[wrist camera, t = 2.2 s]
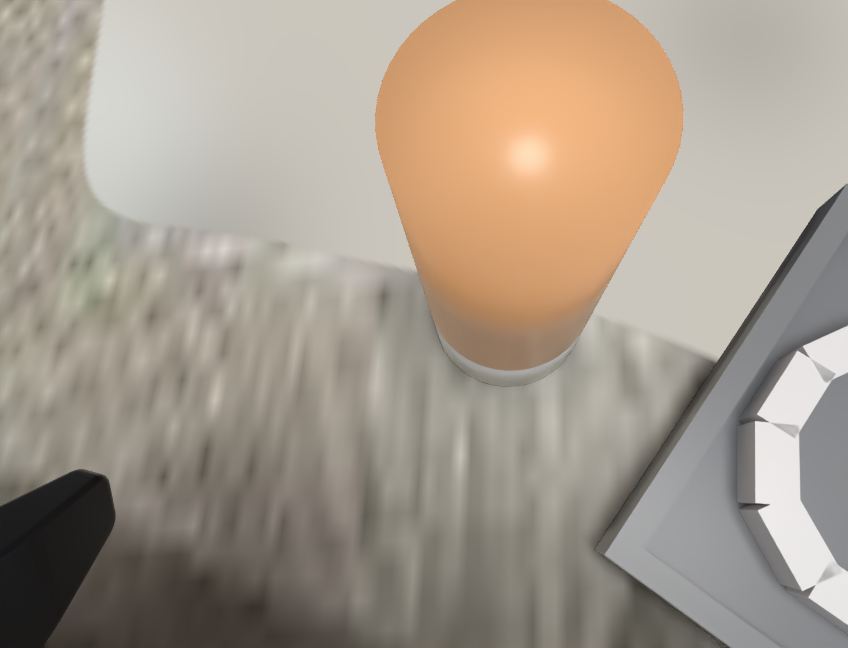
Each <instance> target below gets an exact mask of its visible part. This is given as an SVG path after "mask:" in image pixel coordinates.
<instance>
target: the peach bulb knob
mask: <svg viewBox="0 0 848 648" xmlns="http://www.w3.org/2000/svg"><path fill="white" fill-rule="evenodd" d="M375 117H376V118H375V125H376V126H375V131H376V138H377V145H378V150H379V153H380V156H381V160H382V163H383V166H384V169H385V173H386V176H387V179H388V182H389V185H390V188H391V191H392V194H393V197H394V200H395V203H396V206H397V209H398V213H399V216H400V218H401V222H402V225H403V228H404V231H405V234H406V237H407V240H408V243H409V246H410V249H411V253H412V255H413V259H414V262H415V265H416V268H417V271H418V274H419V277H420V280H421V283H422V286H423V289H424V293H425V296H426V299H427V302H428V305H429V308H430V311H431V314H432V317H433V320H434V323H435V326H436V329H437V333H438V336H439V339H440V341H441V344H442V346H443V348H444V350H445V351H446V353H447V355H448V356H449V358H450V359H451V360H452V361H453V362H454V364H455V365H457V366H458V367H459V368H460V369H461V370H462V371H463V372H465V373H466V374H468V375H469V376H471V377H473V378H475V379H477V380H479V381H482V382H484V383H487V384H492V385H496V386H506V387H507V386H520V385H526V384H529V383H532V382H535V381H537V380H540V379H542V378H544V377H545V376H547V375H549V374H550V373H552V372H553V371H554V370H555V369H557V368H558V367H559V366H560V365H561V364H562V363H563V362H564V361H565V359H566V358H567V356H568V355H569V354H570V352H571V350H572V349H573V347H574V345H575V343H576V341H577V340H578V338H579V336H580V334H581V332H582V331H583V329H584V327H585V325H586V323H587V322H588V320H589V318H590V316H591V314H592V313H593V311H594V308H595V307H596V305H597V303H598V302H599V300H600V298H601V296H602V294H603V293H604V291H605V289H606V287H607V285H608V284H609V281H610V280H611V278H612V276H613V275H614V273H615V271H616V269H617V267H618V266H619V264H620V262H621V260H622V258H623V257H624V254H625V253H626V251H627V249H628V247H629V245H630V244H631V242H632V240H633V238H634V237H635V235H636V233H637V231H638V229H639V228H640V226H641V224H642V222H643V220H644V218H645V217H646V215H647V213H648V211H649V210H650V208H651V206H652V204H653V202H654V201H655V199H656V197H657V195H658V193H659V192H660V190H661V188H662V186H663V184H664V183H665V181H666V179H667V177H668V175H669V173H670V171H671V169H672V167H673V165H674V162H675V159H676V156H677V153H678V150H679V147H680V142H681V136H682V131H683V104H682V96H681V90H680V87H679V83H678V80H677V76H676V74H675V71H674V69H673V67H672V65H671V62H670V60H669V58H668V57H667V55H666V53H665V52H664V50H663V49H662V47H661V46H660V44H659V42H658V41H657V40H656V39H655V38H654V36H653V35H652V34H651V33H650V32H649V31H648V29H647V28H645V27H644V26H643V25H642V24H641V23H640V22H639V21H638V20H637V19H636V18H634V17H633V16H632V15H630V14H629V13H627V12H626V11H625V10H623V9H622V8H620V7H619V6H617V5H615V4H614V3H612V2H610V1H608V0H456V1H454V2H452V3H450V4H449V5H447V6H445V7H444V8H442V9H440V10H438V11H437V12H436V13H434V14H433V15H432V16H431V17H429V18H428V19H427V20H425V21H424V22H423V23H422V24H421V25H420V26H419V27H418V28H417V29H416V30H414V31H413V32H412V33H411V34H410V36H409V37H408V38H407V39H406V41H405V42H404V43H403V44H402V45H401V47H400V48H399V49H398V51H397V53H396V54H395V56H394V58H393V59H392V61H391V62H390V64H389V67H388V69H387V71H386V73H385V76H384V78H383V80H382V84H381V87H380V91H379V94H378V99H377V107H376V114H375Z"/></svg>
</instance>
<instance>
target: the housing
mask: <svg viewBox="0 0 848 648" xmlns="http://www.w3.org/2000/svg"><path fill="white" fill-rule="evenodd" d="M594 550H595V551H597V552H598V553H599V554H601V555H602V556H604V557H605V558H606V559H608V560H609V561H610V562H612V563H613V564H614V565H616V566H617V567H619V568H620V569H621V570H623V571H624V572H625V573H627V574H628V575H629V576H631V577H632V578H634V579H635V580H636V581H638V582H639V583H640V584H642V585H643V586H644V587H646V588H647V589H649V590H650V591H651V592H653V593H654V594H655V595H657V596H658V597H660V598H661V599H662V600H664V601H665V602H666V603H668V604H669V605H670V606H672V607H673V608H675V609H676V610H677V611H679V612H680V613H681V614H683V615H684V616H685V617H687V618H688V619H690V620H691V621H692V622H694V623H695V624H696V625H698V626H699V627H700V628H702V629H703V630H705V631H706V632H707V633H709V634H710V635H711V636H713V637H714V638H715V639H717V640H718V641H720V642H721V643H722V644H724V645H725V646H726V647H728V648H848V184H846V185H845V186H844V187H842V188H841V189H840V190H839V191H838V192H837V193H836V194H834V195H833V196H832V197H831V198H830V199H829V200H828V201H826V202H825V204H823V205H822V206H821V207H820V208H819V209H818V210H817V211H816V212H815V214H814V216H813V217H812V219H811V220H810V222H809V223H808V225H807V226H806V228H805V229H804V231H803V232H802V234H801V235H800V237H799V238H798V240H797V241H796V243H795V244H794V246H793V247H792V249H791V251H790V252H789V254H788V255H787V257H786V258H785V260H784V261H783V263H782V264H781V266H780V267H779V269H778V270H777V272H776V273H775V275H774V277H773V278H772V280H771V281H770V283H769V284H768V286H767V287H766V289H765V290H764V292H763V293H762V295H761V296H760V298H759V299H758V301H757V302H756V304H755V305H754V307H753V308H752V310H751V311H750V313H749V315H748V316H747V318H746V319H745V321H744V322H743V324H742V325H741V327H740V328H739V330H738V331H737V333H736V334H735V336H734V337H733V339H732V341H731V342H730V343H729V345H728V347H727V348H726V350H725V351H724V353H723V354H722V356H721V357H720V359H719V360H718V362H717V363H716V365H715V366H714V368H713V369H712V371H711V372H710V374H709V375H708V377H707V379H706V380H705V382H704V383H703V385H702V386H701V388H700V389H699V391H698V392H697V394H696V395H695V397H694V398H693V400H692V401H691V403H690V404H689V406H688V407H687V409H686V411H685V412H684V414H683V415H682V417H681V418H680V420H679V421H678V423H677V424H676V426H675V427H674V429H673V430H672V432H671V433H670V435H669V436H668V438H667V439H666V441H665V443H664V444H663V446H662V447H661V449H660V450H659V452H658V453H657V455H656V456H655V458H654V459H653V461H652V462H651V464H650V465H649V467H648V468H647V470H646V471H645V473H644V474H643V476H642V478H641V479H640V481H639V482H638V484H637V485H636V487H635V488H634V490H633V491H632V493H631V494H630V496H629V497H628V499H627V500H626V502H625V503H624V505H623V506H622V508H621V510H620V511H619V513H618V514H617V516H616V517H615V519H614V520H613V522H612V523H611V525H610V526H609V528H608V529H607V531H606V532H605V534H604V535H603V537H602V538H601V540H600V542H599V543H598V545H597V546H596V548H595V549H594Z"/></svg>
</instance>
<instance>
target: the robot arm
mask: <svg viewBox="0 0 848 648" xmlns="http://www.w3.org/2000/svg"><path fill="white" fill-rule="evenodd" d="M114 523H115V508H114V503H113V498H112V493H111V488H110V483H109V480H108V478H107V477H106V476H105V475H102V474H99V473H95V472H92V471H88V470H83V469H79V470H75V471H72V472H70V473H68V474H66V475H64V476H61V477H59V478H57V479H55V480H53V481H51V482H49V483H47V484H45V485H43V486H41V487H39V488H37V489H35V490H33V491H31V492H28V493H26V494H24V495H22V496H20V497H18V498H16V499H14V500H12V501H10V502H8V503H6V504H4V505H2V506H0V648H42V647H43V646H44V644H45V643H46V641H47V640H48V638H49V637H50V635H51V634H52V632H53V631H54V629H55V628H56V626H57V624H58V623H59V621H60V620H61V618H62V616H63V615H64V613H65V611H66V610H67V608H68V606H69V604H70V603H71V601H72V599H73V597H74V596H75V594H76V592H77V590H78V589H79V587H80V585H81V583H82V582H83V580H84V578H85V577H86V575H87V573H88V571H89V570H90V568H91V566H92V564H93V563H94V561H95V559H96V557H97V556H98V554H99V552H100V550H101V549H102V547H103V545H104V544H105V542H106V540H107V538H108V537H109V535H110V533H111V531H112V529H113V526H114Z"/></svg>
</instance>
